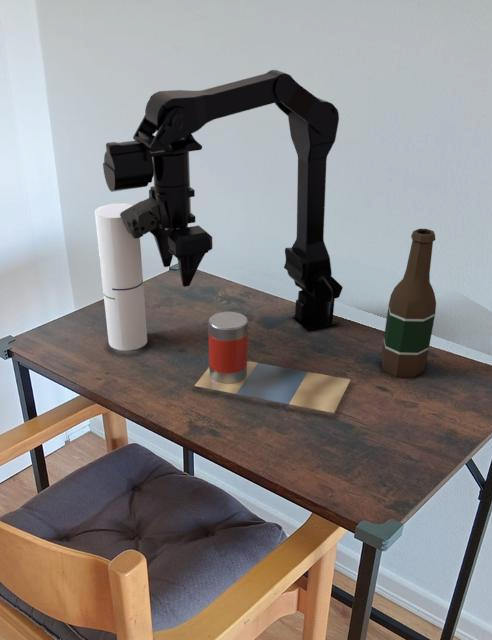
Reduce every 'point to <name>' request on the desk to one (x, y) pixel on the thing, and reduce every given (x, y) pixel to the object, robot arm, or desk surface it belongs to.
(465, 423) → the desk surface
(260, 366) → the board
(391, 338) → the beer bottle
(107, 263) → the cylindrical container
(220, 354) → the tin can
